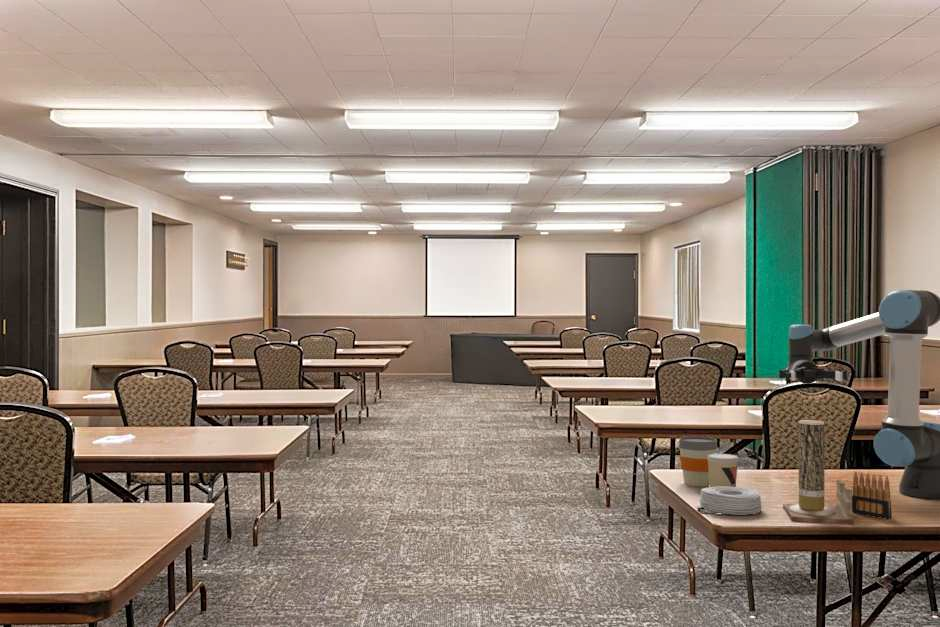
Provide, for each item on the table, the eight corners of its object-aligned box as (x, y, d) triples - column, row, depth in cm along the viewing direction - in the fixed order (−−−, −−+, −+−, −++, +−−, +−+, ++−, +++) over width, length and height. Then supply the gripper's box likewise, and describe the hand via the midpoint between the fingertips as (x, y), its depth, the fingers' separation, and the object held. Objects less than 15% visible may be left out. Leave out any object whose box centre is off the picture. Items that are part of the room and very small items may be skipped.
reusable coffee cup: (672, 480, 284) (672, 437, 284) (706, 479, 287) (706, 436, 287) (689, 488, 272) (688, 442, 272) (724, 486, 274) (724, 441, 274)
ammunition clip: (850, 512, 239) (850, 471, 239) (853, 511, 240) (853, 470, 240) (888, 519, 231) (888, 476, 231) (891, 518, 232) (891, 476, 232)
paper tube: (820, 506, 239) (820, 420, 239) (827, 512, 232) (827, 423, 232) (795, 505, 239) (795, 419, 239) (802, 511, 233) (802, 422, 233)
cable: (694, 513, 239) (694, 492, 239) (704, 501, 255) (704, 481, 255) (758, 520, 231) (758, 498, 231) (764, 506, 247) (764, 486, 247)
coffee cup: (727, 498, 257) (727, 459, 257) (701, 493, 265) (701, 455, 265) (743, 494, 263) (743, 456, 263) (718, 489, 271) (718, 452, 271)
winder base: (841, 510, 241) (841, 479, 241) (853, 524, 226) (853, 490, 226) (783, 507, 245) (783, 476, 245) (791, 521, 229) (791, 487, 229)
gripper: (845, 383, 274) (860, 389, 253) (766, 382, 279) (774, 388, 258) (845, 361, 274) (860, 365, 253) (766, 360, 279) (774, 364, 258)
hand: (817, 376), depth 256 cm, fingers open, 13 cm apart
